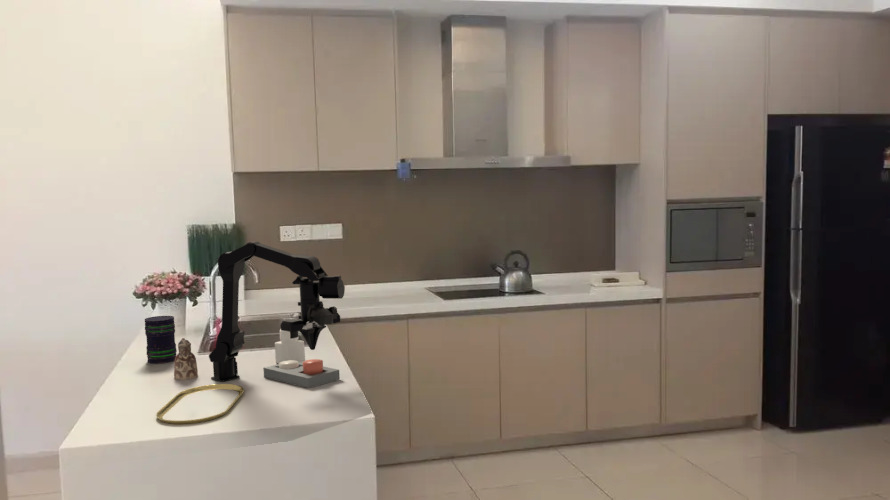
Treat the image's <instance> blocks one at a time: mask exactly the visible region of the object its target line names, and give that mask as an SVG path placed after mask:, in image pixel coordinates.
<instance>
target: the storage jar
mask: <svg viewBox="0 0 890 500" xmlns="http://www.w3.org/2000/svg"><path fill="white" fill-rule="evenodd" d="M144 326H145V327H144V331H145V336H146V347H145V348H146V358H147V363H148V364H151V365H159V364H160V365H161V364H168V363H169V364H170V363H172V362H175V357H176V356H177V352H178V350H177V344H176V338H175V335H176V334H175V333H176V324H175V316H173V315H156V316H150V317H145V318H144Z"/></svg>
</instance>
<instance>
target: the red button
mask: <svg viewBox="0 0 890 500" xmlns="http://www.w3.org/2000/svg"><path fill="white" fill-rule="evenodd" d="M323 366H324V361H323V359H318V358H315V359H307V360H306V359H305V361H303V374H307V375H315V374H319V373H323Z"/></svg>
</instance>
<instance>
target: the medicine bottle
mask: <svg viewBox="0 0 890 500" xmlns="http://www.w3.org/2000/svg"><path fill="white" fill-rule="evenodd" d="M279 340H280V341H276V342H274V351H275V352H274V355H275V364H277V363H278V364H279V363H280V362H283V361H289V360H296V361H300V362H303V361H306V351H305V350H306V349H305V341H304V340H299V331H295V332H289V331H283V330H281V328H280V329H279Z"/></svg>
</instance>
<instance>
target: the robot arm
mask: <svg viewBox="0 0 890 500" xmlns="http://www.w3.org/2000/svg"><path fill="white" fill-rule="evenodd" d="M254 257H256V258H258V259H262V260H265V261H267V262H271V263H273V264H276V265H280V266H283V267H285V268H287V269H289V270H290V271H291V272H292V273H294V274H296V275H298V276H296V278H295V279H294V280H293V281H292V282H291V283H292V285H299V298H300V299H299V301H298V302H297V306H298V307H300V315H298V319H294V318H289V319H284V320H282V321H281V323H280V329H281V330H283V331H289V332H295V331H298V332H300V334H301V335H302V337H303V338H304V340H305V342H306V343H307V345H308V348H309V349H310V350H311V351H314V350H315V349H316V346H317V342H318V339H319V338H320V337H319V336H320V334H321V331H323V329H325V328H327V325H333V324H337V323H341V315H340V314H339V312H338V308H337V307H336V306H329V307H324V303H323V301H322V300H320V297H321V298H322V299H326V300H327V299H328V300H329V299H333V300H335V299H338V300H339V299H343V298H344V296H345V283H344V282H343V281H344V280H342V276H341V275H331V276H329V275H328V273H327V272H326V271H325V270H324V269H323V267H322V266H321V263H320V260H319V259H318V257H317V256H314V255H307V254H294V253H290V252H288V251H284V250H281V249H279V248H276V247H273V246H269V245H267V244H263V243H261V242H260V241H256V240H255V241H250V242H247V243H246V244H244V245H242V246H241V247H239V248H237V249H235V250H233V251H228V252H224V253H221V254H220V256H218V258H217V269H218V273H219V275H220V278H221V279H222V299H221V300H222V302H221V303H222V304H221V305H222V308H221V310H222V311H221V328H220V330H219V331H218V334H217V338H216V342H215V348H213V350H212V351H211V352H210V353H209V355H208V360H209V361H210V362H211V363H212V364H213V365H212V369H213V376H211V377H210V379H211V380H213V381H219V382H226V381H231V380H233V379H237V378H238V379H239V378H240V375H238V374H239V372H238V369H239V368H238V361H237V357H238V356H239V352H240V350H242V349H243V346H244V344H245V330H240V328H239V323H238V322H239V293H240V292H239V288H240V279H241V276H242V274H243V272H244V269H245V263H246V262H247V261H249V260H251V259H252V258H254Z"/></svg>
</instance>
